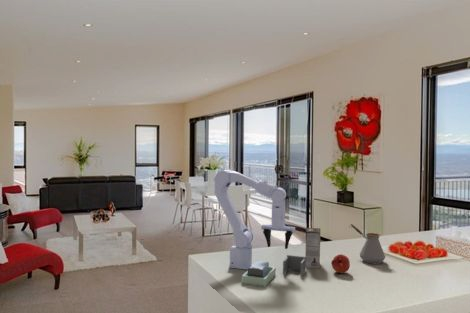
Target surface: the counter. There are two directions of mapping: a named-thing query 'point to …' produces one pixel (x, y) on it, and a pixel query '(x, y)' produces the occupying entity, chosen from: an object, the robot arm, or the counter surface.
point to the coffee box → (312, 247)
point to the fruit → (340, 263)
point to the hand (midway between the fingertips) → (277, 247)
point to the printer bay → (294, 263)
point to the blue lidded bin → (259, 269)
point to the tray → (259, 278)
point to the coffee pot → (371, 248)
